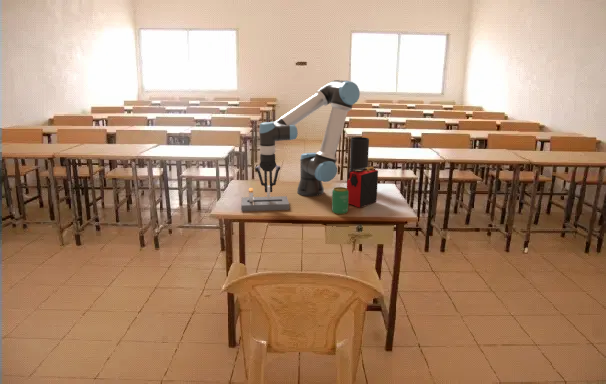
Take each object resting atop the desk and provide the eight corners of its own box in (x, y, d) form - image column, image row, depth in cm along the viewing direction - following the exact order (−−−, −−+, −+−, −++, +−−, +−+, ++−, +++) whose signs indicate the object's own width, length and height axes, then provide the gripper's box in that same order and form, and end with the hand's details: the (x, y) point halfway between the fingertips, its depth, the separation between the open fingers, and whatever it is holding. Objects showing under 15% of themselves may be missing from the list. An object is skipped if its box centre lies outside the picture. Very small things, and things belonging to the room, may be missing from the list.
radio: (362, 198, 252) (364, 162, 247) (377, 202, 245) (379, 166, 240) (344, 204, 241) (345, 167, 236) (359, 208, 235) (360, 170, 229)
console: (286, 201, 245) (286, 195, 245) (289, 209, 232) (289, 203, 231) (241, 202, 243) (241, 197, 242) (241, 211, 229) (241, 205, 228)
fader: (253, 203, 239) (253, 187, 237) (253, 206, 234) (253, 190, 232) (249, 204, 239) (248, 188, 236) (249, 207, 234) (249, 190, 231)
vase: (367, 191, 266) (370, 140, 257) (350, 191, 266) (352, 140, 257) (365, 186, 276) (367, 137, 267) (348, 186, 275) (350, 137, 267)
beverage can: (342, 208, 234) (343, 186, 231) (350, 213, 228) (351, 190, 224) (328, 210, 231) (329, 187, 228) (337, 215, 224) (337, 192, 221)
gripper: (280, 151, 234) (280, 195, 241) (254, 152, 233) (255, 196, 239) (281, 154, 227) (281, 199, 234) (254, 155, 226) (256, 200, 232)
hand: (268, 198), depth 237 cm, fingers closed
